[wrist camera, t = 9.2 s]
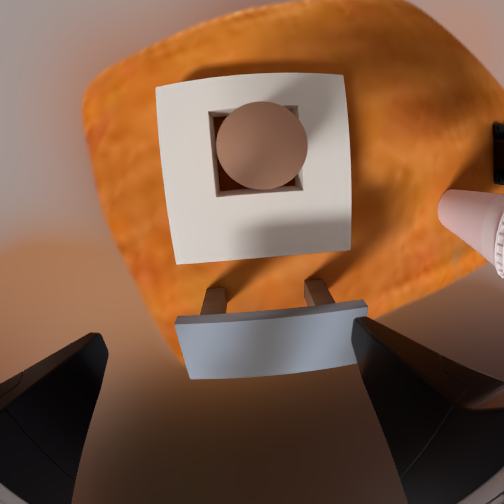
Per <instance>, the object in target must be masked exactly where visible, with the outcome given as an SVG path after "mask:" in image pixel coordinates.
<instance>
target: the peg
mask: <svg viewBox="0 0 504 504" xmlns="http://www.w3.org/2000/svg"><path fill="white" fill-rule="evenodd" d="M216 149H217V155H218V158H219V161H220V163H221V166H222V167H223V169H224V170H225V172H226V173H227V174H228V175H229V176H230V177H231V178H232V179H233V180H235V181H236V182H237V183H239V184H241V185H243V186H246V187H248V188H252V189H259V190H267V189H273V188H277V187H279V186H282V185H284V184H286V183H287V182H289V181H290V180H292V179H293V178H294V177H295V176H296V175H297V174H298V172H299V171H300V170H301V168H302V166H303V165H304V162H305V160H306V156H307V151H308V141H307V136H306V132H305V130H304V127H303V125H302V124H301V122H300V120H299V119H298V118H297V117H296V116H295V115H294V114H293V113H292V112H291V111H290V110H288V109H287V108H285V107H283V106H281V105H279V104H276V103H272V102H265V101H258V102H251V103H248V104H245V105H242V106H240V107H238V108H237V109H235V110H234V111H233V112H231V113H230V114H229V115H228V116H227V117H226V119H225V120H224V121H223V123H222V125H221V127H220V129H219V131H218V135H217V141H216Z"/></svg>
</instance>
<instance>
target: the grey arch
mask: <svg viewBox="0 0 504 504" xmlns="http://www.w3.org/2000/svg"><path fill="white" fill-rule="evenodd" d="M304 297H305V300H306V302H307V305H308V307H299V308H289V309H279V310H268V311H256V312H243V313H229V314H226V309H227V299H226V292H225V288H213V289H207V290H206V294H205V298H204V302H203V306H202V309H201V313H200V315H193V316H177V319H176V322H175V328H176V332H177V336H178V339H179V343H180V346H181V350H182V353H183V357H184V360H185V364H186V367H187V370H188V373H189V377H190V379H222V378H243V377H258V376H270V375H280V374H290V373H298V372H305V371H313V370H320V369H327V368H333V367H339V366H344V365H350V364H355V363H357V360H356V357H355V353H354V350H353V347H352V343H351V334H352V326H353V320H354V319H355V318H356V317H362V316H366V317H367V313H368V306H367V304H366V303H365V302H364V300H356V301H348V302H341V303H335V301H334V299H333V297H332V296H331V294H330V292H329V290H328V289H327V287H326V285H325V283H324V282H323V280H322V279H318V280H308V281H304Z"/></svg>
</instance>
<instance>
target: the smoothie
mask: <svg viewBox="0 0 504 504" xmlns="http://www.w3.org/2000/svg"><path fill="white" fill-rule="evenodd" d="M438 217H439V220H440V222H441V224H442V225H443V226H445V227H446V228H447V229H449V230H450V231H452V232H453V233H454V234H456V235H457V236H458V237H460V238H461V239H462V240H463V241H465V242H466V243H467V244H469V245H470V246H471V247H472V248H474V249H475V250H476V251H477V252H479V253H480V254H481V255H482V256H484V257H485V258H486V259H487V260H488V261H489V262H491V263H492V264H493V265H494V266H495V267H496V270H497V272H498V274H499V275H500V276H501V277H502V278H504V194H496V193H487V192H478V191H467V190H455V189H450V190H448V191H446V192H445V193H444V194H443V195H442V197H441V199H440V201H439V204H438Z"/></svg>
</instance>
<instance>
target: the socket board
mask: <svg viewBox="0 0 504 504" xmlns="http://www.w3.org/2000/svg"><path fill="white" fill-rule="evenodd" d="M258 101H265V102H272V103H276V104H279V105H281V106H283V107H285V108H287V109H288V110H290V111H291V112H292V113H293V114H294V115H295V116H296V117H297V118H298V119H299V120H300V122H301V124H302V125H303V127H304V130H305V132H306V136H307V141H308V151H307V156H306V160H305V162H304V165H303V166H302V168H301V170H300V171H299V172H298V174H297V175H296V176H295V185H294V186H279V187H277V188H273V189H267V190H259V189H252V188H250V189H239V190H228V191H220V184H219V174H218V164H217V153H216V142H215V130H214V117H222V116H228V115H229V114H230V113H231V112H233V111H234V110H235V109H237V108H238V107H240V106H242V105H245V104H248V103H251V102H258ZM156 105H157V120H158V133H159V144H160V154H161V164H162V172H163V181H164V189H165V196H166V204H167V211H168V217H169V224H170V230H171V236H172V242H173V248H174V254H175V259H176V265H177V264H190V263H202V262H215V261H227V260H239V259H252V258H264V257H276V256H287V255H299V254H311V253H322V252H334V251H345V250H351V158H350V139H349V125H348V113H347V102H346V93H345V84H344V77H343V75H338V74H322V73H259V74H243V75H232V76H222V77H213V78H205V79H198V80H192V81H186V82H180V83H175V84H169V85H164V86H160V87H156Z"/></svg>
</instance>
